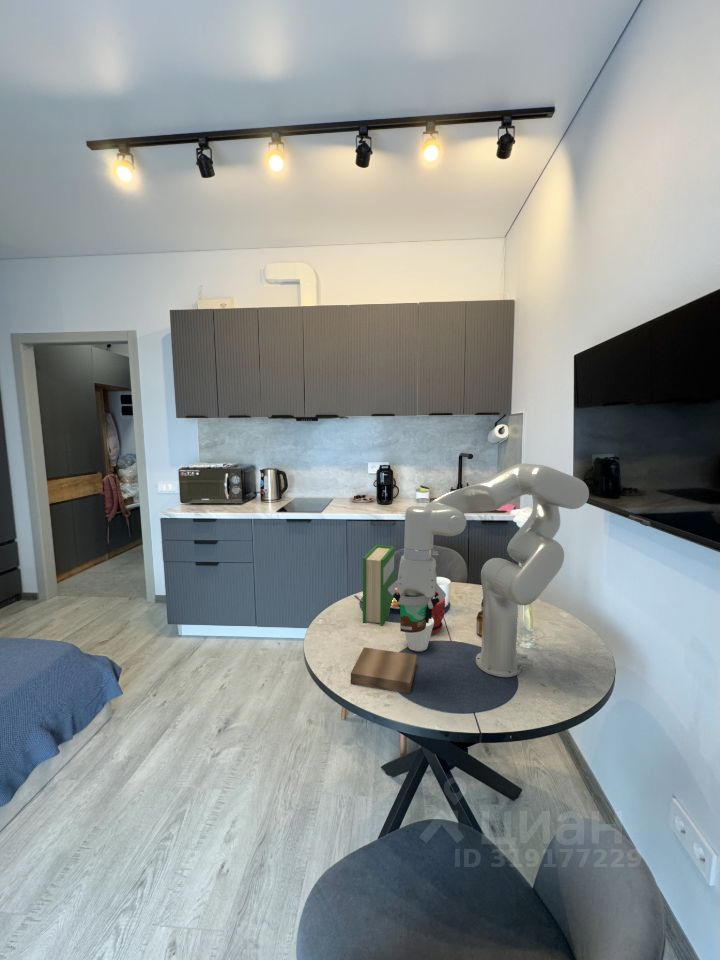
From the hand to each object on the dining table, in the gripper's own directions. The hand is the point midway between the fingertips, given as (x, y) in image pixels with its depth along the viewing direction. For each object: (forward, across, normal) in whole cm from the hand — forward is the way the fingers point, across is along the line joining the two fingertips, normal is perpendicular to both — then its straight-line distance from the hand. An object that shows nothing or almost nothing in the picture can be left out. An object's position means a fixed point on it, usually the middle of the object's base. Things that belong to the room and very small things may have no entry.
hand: (415, 618), depth 109 cm
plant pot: (+18, -1, -32) cm, 36 cm away
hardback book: (+18, +17, -39) cm, 46 cm away
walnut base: (+18, +8, -2) cm, 20 cm away
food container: (+3, -1, 0) cm, 3 cm away
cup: (+18, 0, -19) cm, 26 cm away
